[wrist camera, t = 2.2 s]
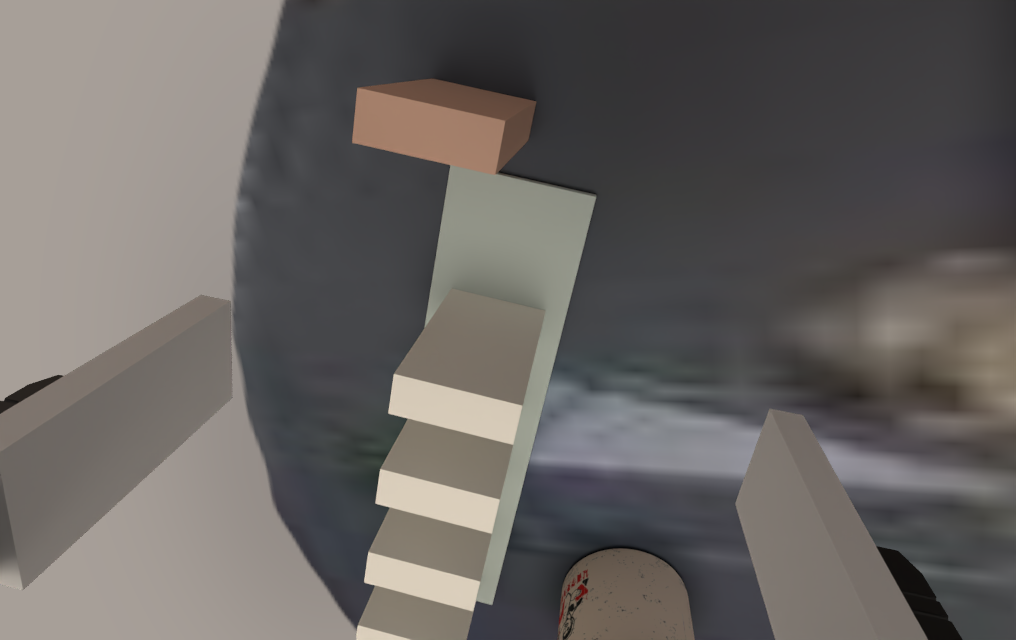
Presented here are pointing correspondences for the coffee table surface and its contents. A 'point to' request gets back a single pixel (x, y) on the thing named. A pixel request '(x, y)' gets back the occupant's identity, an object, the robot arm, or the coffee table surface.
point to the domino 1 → (443, 123)
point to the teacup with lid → (624, 599)
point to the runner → (512, 290)
